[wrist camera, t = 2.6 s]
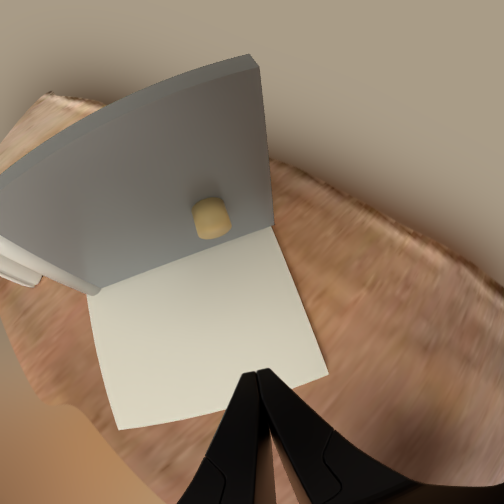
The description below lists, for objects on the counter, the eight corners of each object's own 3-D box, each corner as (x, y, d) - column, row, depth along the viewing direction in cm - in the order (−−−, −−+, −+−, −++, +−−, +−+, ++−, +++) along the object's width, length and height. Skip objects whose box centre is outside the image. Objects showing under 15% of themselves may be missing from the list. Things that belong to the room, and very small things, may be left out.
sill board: (326, 373, 20) (328, 374, 19) (124, 428, 19) (118, 430, 18) (263, 211, 25) (262, 205, 24) (90, 276, 24) (84, 273, 23)
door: (282, 242, 22) (275, 88, 9) (88, 312, 21) (-49, 256, 8) (267, 207, 23) (246, 49, 10) (83, 277, 23) (-40, 205, 10)
